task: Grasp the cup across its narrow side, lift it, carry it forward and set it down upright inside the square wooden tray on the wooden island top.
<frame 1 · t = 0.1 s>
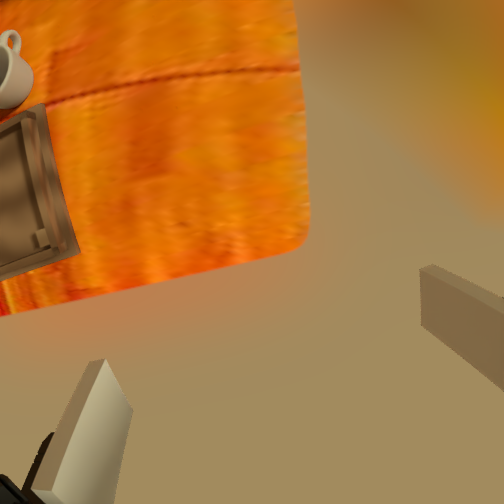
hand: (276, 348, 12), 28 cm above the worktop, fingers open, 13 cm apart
cup: (20, 77, 30), on the worktop
square wooden tray: (7, 199, 34), on the worktop
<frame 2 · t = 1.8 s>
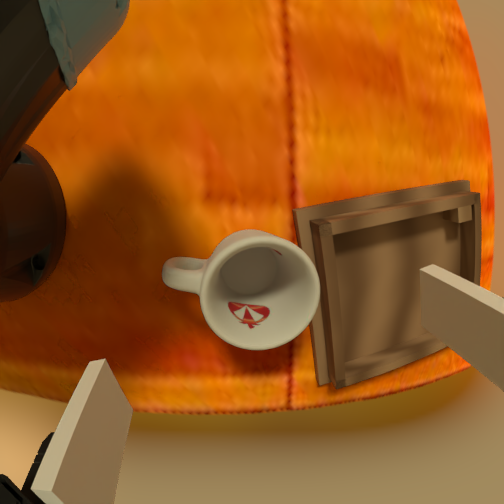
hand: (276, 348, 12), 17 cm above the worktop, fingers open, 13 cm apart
cup: (231, 262, 28), on the worktop
square wooden tray: (398, 279, 31), on the worktop
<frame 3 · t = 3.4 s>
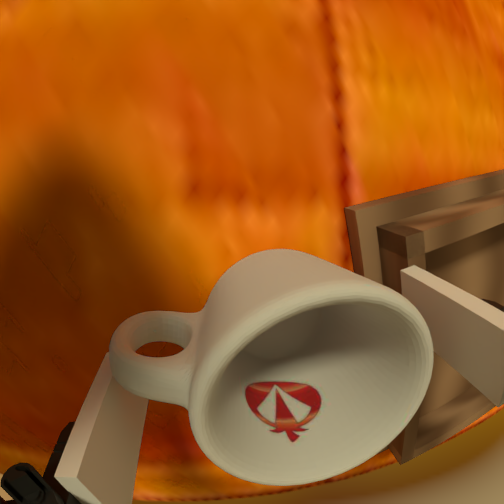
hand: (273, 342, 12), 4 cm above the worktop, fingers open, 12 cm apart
cup: (242, 305, 16), on the worktop, touching gripper
square wooden tray: (478, 302, 19), on the worktop
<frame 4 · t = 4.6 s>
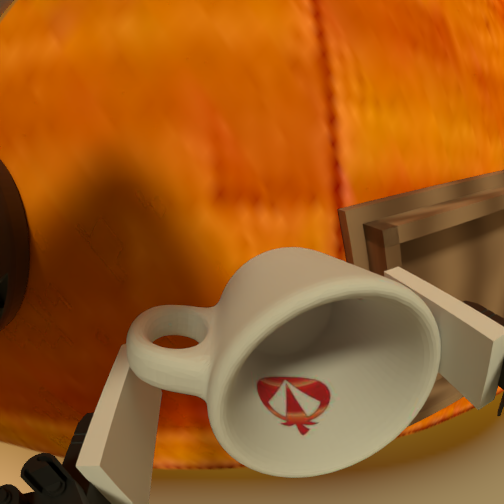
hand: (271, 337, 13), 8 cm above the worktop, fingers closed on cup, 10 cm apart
cup: (253, 301, 17), point 4 cm above the worktop, touching gripper
square wooden tray: (460, 291, 22), on the worktop
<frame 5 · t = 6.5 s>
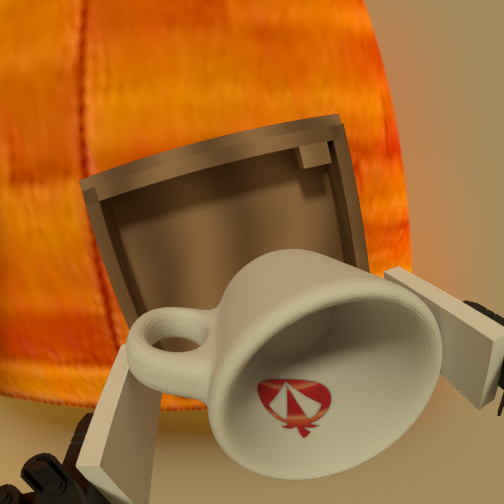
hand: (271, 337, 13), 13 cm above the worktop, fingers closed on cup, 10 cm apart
cup: (254, 303, 16), point 9 cm above the worktop, touching gripper
square wooden tray: (237, 255, 25), on the worktop
when the fingers open (5 cm above the worktop, at t = 8.3 s): cup stays where it is, resting on square wooden tray.
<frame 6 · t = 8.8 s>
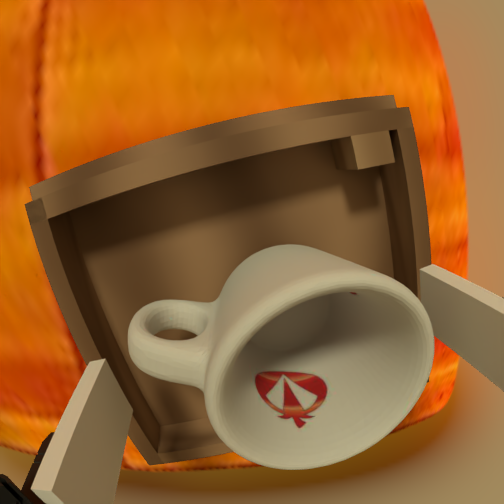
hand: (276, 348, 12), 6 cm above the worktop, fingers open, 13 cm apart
cup: (253, 298, 17), point 1 cm above the worktop, touching square wooden tray
square wooden tray: (253, 291, 18), on the worktop
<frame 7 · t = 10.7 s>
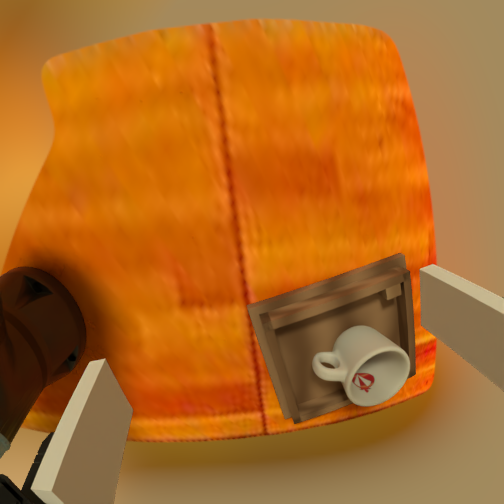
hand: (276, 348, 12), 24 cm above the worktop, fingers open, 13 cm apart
cup: (343, 344, 39), point 1 cm above the worktop, touching square wooden tray
square wooden tray: (341, 341, 40), on the worktop
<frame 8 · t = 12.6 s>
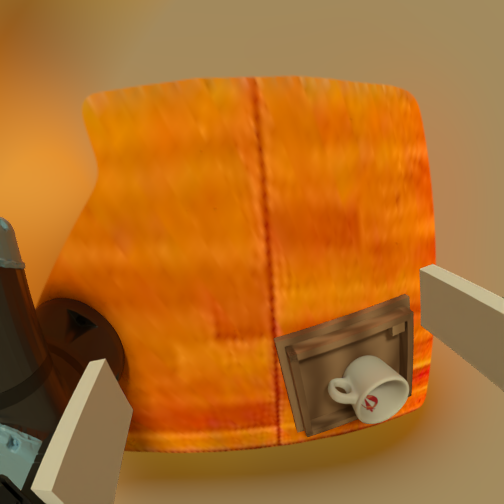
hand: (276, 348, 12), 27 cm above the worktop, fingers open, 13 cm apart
cup: (351, 370, 44), point 1 cm above the worktop, touching square wooden tray
square wooden tray: (350, 367, 45), on the worktop
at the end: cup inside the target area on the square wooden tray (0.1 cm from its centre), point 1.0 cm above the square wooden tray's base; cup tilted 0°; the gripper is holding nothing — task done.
